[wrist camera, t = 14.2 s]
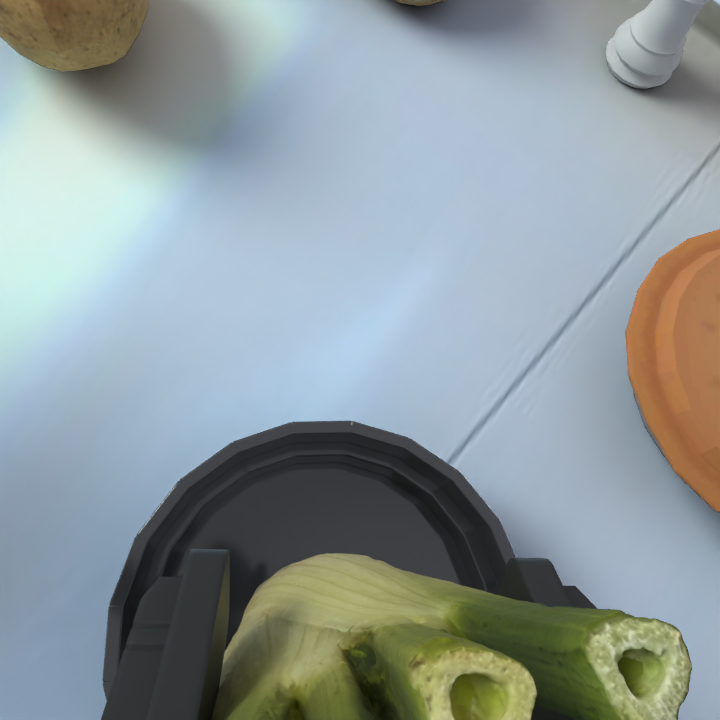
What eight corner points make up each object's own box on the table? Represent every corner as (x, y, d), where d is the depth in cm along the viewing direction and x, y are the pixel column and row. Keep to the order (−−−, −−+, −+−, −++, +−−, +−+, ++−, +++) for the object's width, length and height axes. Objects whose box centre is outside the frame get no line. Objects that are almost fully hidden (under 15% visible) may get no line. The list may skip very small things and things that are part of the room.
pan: (282, 940, 21) (281, 1023, 17) (61, 591, 24) (17, 595, 20) (564, 646, 26) (614, 660, 22) (349, 379, 29) (360, 349, 25)
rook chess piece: (682, 78, 38) (781, -43, 30) (631, 102, 37) (720, -17, 29) (638, 28, 39) (723, -101, 31) (587, 50, 38) (663, -78, 30)
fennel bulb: (441, 570, 18) (723, 562, 6) (427, 765, 16) (774, 1223, 5) (245, 542, 17) (175, 482, 6) (207, 739, 15) (12, 1173, 4)
